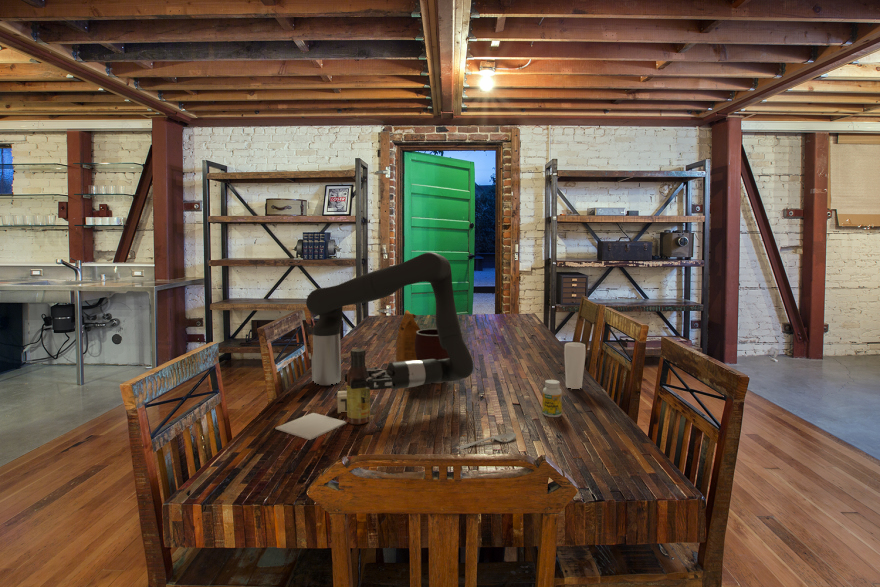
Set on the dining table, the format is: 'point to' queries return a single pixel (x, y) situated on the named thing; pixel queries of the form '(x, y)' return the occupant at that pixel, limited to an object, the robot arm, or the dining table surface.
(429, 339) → the mate gourd
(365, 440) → the dining table surface
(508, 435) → the spoon
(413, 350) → the coffee package
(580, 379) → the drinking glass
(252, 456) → the dining table surface
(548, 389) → the supplement bottle
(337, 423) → the beige mat
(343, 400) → the letter block
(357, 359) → the sauce bottle
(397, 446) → the dining table surface
